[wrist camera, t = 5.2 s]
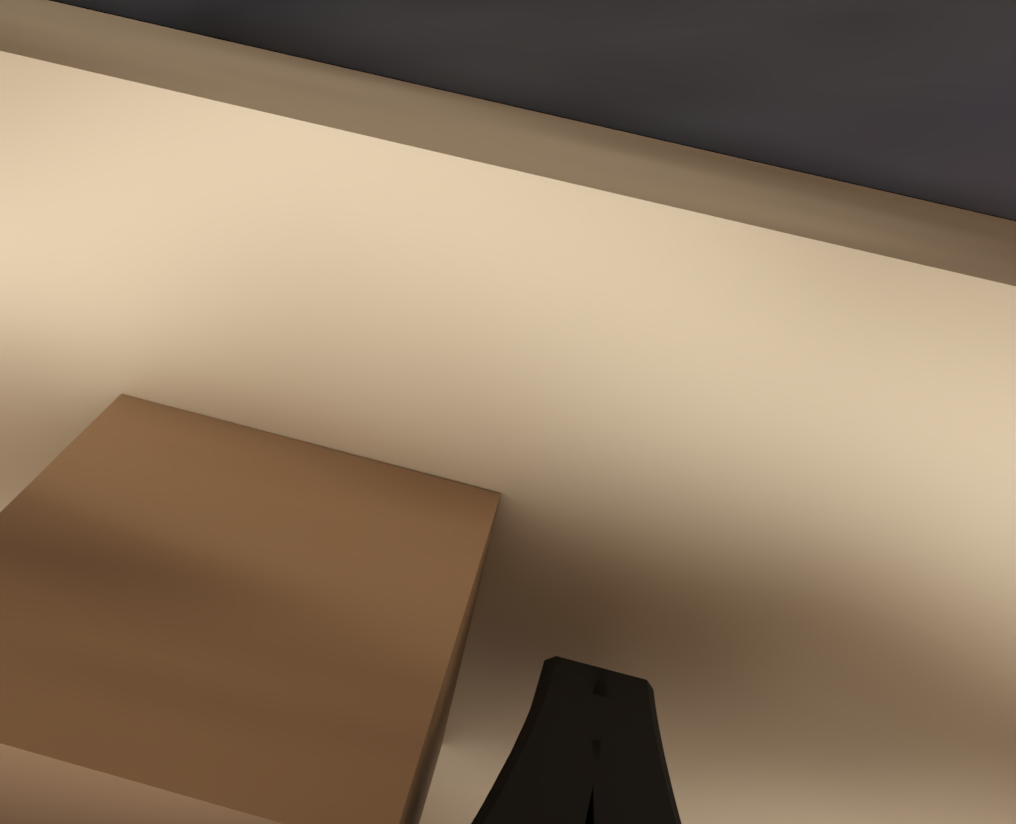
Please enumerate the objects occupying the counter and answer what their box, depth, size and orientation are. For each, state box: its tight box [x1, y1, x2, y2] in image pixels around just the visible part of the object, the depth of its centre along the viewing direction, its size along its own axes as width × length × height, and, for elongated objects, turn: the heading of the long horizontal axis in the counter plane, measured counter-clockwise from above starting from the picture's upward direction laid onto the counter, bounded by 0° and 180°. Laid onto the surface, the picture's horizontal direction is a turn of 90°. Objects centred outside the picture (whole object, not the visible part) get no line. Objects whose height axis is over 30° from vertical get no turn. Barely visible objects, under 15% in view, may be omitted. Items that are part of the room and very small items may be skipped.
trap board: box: [0, 0, 1016, 824], centre depth 15 cm, size 18×30×2 cm, turn 80°
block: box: [0, 394, 501, 824], centre depth 10 cm, size 4×4×4 cm
